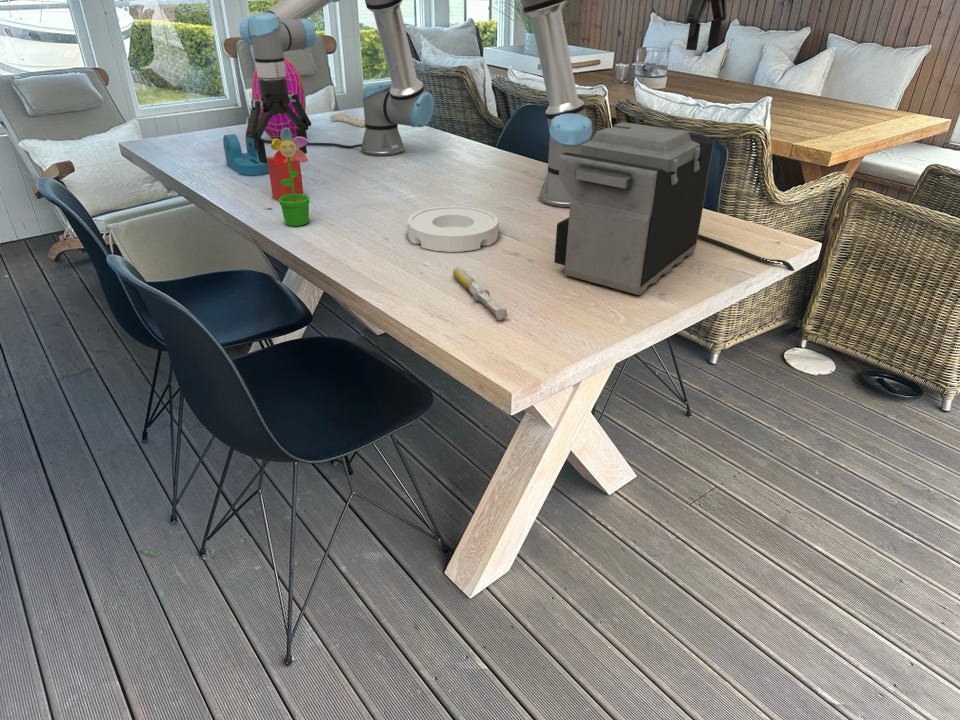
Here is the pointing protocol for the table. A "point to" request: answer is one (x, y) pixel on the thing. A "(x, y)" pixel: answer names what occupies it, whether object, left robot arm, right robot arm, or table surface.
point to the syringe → (479, 293)
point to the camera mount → (243, 156)
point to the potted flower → (291, 178)
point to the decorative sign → (347, 119)
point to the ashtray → (452, 228)
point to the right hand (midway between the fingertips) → (702, 48)
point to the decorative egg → (283, 120)
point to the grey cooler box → (632, 205)
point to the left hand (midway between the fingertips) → (283, 157)
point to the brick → (284, 177)
